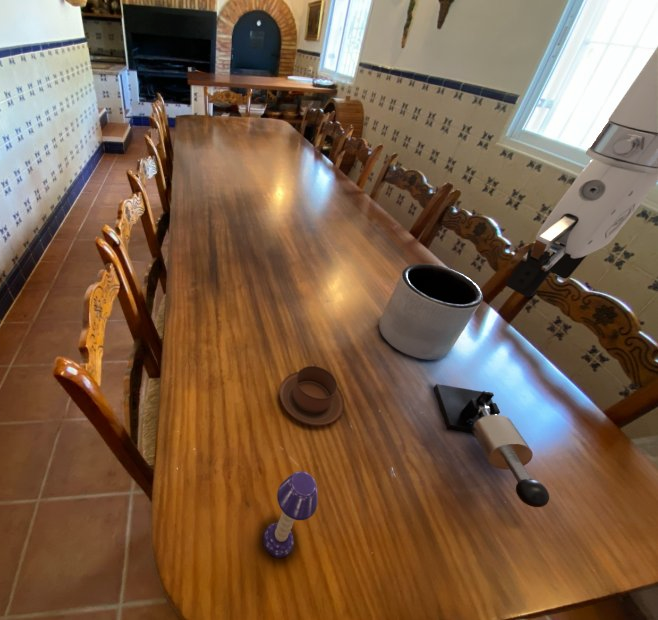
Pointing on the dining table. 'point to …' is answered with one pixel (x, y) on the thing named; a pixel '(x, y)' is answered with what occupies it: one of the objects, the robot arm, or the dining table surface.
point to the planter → (429, 310)
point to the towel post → (508, 454)
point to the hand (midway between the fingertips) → (536, 281)
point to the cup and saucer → (312, 396)
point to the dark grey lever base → (462, 406)
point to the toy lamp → (291, 512)
